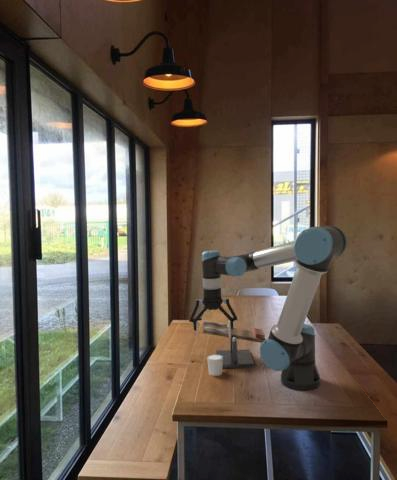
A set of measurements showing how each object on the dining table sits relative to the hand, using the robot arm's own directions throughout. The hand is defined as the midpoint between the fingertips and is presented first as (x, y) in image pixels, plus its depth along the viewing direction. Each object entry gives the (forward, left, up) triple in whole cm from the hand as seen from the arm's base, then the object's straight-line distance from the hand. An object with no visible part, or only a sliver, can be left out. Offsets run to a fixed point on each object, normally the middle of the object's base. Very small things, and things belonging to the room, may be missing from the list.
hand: (213, 337), depth 166 cm
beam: (+14, -9, -5) cm, 17 cm away
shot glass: (0, 0, -16) cm, 16 cm away
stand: (+14, -9, -16) cm, 23 cm away
